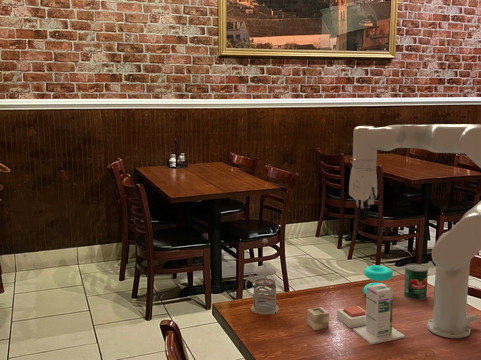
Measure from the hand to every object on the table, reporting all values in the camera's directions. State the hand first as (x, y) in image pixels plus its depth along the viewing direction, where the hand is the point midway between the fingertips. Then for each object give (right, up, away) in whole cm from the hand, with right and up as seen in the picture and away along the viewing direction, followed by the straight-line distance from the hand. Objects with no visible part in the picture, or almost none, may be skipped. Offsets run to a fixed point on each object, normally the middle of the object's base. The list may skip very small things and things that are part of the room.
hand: (362, 219), depth 173 cm
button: (-3, -32, -2) cm, 32 cm away
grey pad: (+2, -34, -11) cm, 36 cm away
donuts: (+10, -29, +20) cm, 37 cm away
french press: (-33, -32, +8) cm, 46 cm away
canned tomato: (+23, -29, +18) cm, 42 cm away
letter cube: (-16, -34, -5) cm, 37 cm away
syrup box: (+2, -34, -11) cm, 36 cm away
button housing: (-3, -33, -2) cm, 33 cm away
